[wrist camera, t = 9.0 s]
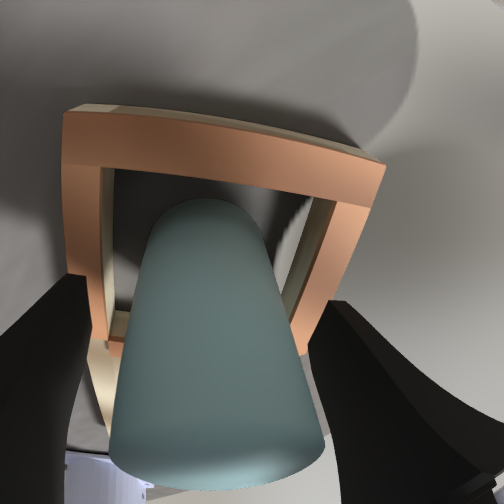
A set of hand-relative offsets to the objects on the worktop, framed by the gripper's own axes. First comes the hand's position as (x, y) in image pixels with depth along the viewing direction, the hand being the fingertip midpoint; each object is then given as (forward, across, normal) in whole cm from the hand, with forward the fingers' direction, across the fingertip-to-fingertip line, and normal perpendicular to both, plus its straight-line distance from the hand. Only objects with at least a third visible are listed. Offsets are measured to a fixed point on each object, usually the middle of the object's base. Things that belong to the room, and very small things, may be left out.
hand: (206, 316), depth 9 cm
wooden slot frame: (+3, 0, +6) cm, 6 cm away
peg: (+3, 0, 0) cm, 3 cm away
